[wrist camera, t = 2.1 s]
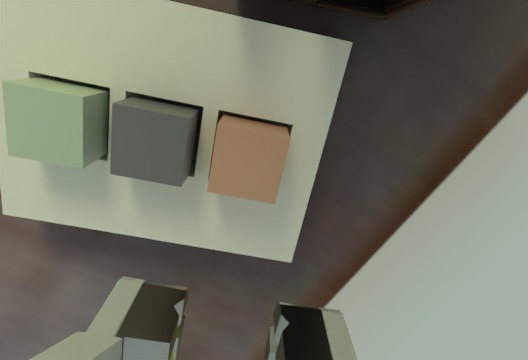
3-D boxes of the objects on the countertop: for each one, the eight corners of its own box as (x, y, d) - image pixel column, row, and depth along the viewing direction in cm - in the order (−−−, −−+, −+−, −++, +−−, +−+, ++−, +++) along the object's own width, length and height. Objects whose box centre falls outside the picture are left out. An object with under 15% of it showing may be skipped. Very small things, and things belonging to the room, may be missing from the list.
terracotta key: (223, 114, 20) (217, 124, 17) (286, 127, 20) (290, 138, 18) (214, 173, 21) (207, 191, 19) (273, 184, 22) (275, 204, 19)
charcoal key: (133, 96, 20) (112, 103, 17) (199, 109, 20) (189, 118, 17) (130, 157, 21) (110, 173, 18) (191, 169, 21) (181, 186, 19)
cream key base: (24, -27, 20) (-23, -43, 17) (338, 44, 21) (352, 42, 18) (36, 193, 25) (3, 214, 22) (287, 237, 27) (291, 262, 23)
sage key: (39, 76, 19) (1, 81, 16) (108, 91, 19) (82, 97, 17) (42, 141, 21) (8, 155, 18) (106, 153, 21) (82, 169, 18)
